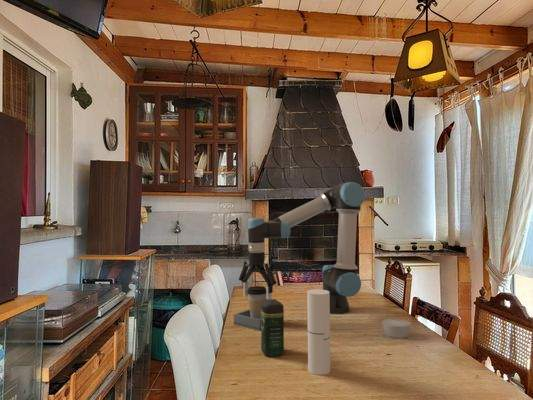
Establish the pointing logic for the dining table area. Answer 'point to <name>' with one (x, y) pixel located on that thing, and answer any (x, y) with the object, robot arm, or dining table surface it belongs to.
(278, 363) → the dining table surface
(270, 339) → the coffee jar
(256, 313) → the coffee cup
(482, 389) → the dining table surface
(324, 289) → the robot arm
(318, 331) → the cylindrical container
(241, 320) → the tray
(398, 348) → the dining table surface
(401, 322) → the ramekin
